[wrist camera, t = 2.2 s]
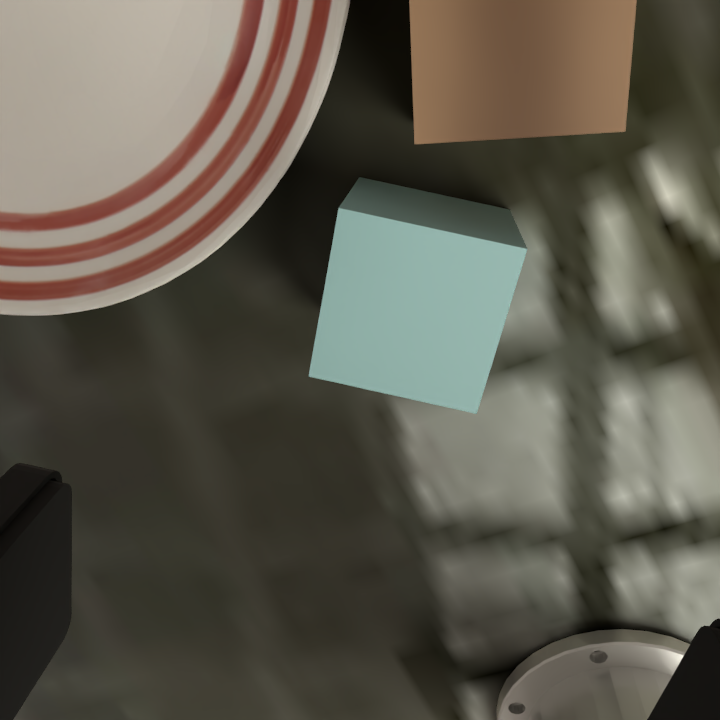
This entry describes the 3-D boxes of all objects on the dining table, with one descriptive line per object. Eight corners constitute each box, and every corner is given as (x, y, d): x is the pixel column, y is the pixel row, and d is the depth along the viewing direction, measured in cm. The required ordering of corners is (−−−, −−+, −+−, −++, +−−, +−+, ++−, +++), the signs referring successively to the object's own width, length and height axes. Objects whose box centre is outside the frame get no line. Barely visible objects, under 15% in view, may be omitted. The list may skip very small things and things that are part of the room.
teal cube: (509, 209, 26) (527, 249, 21) (469, 346, 29) (476, 413, 23) (359, 176, 26) (338, 207, 21) (333, 316, 29) (308, 376, 23)
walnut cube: (596, -78, 22) (647, -122, 17) (584, 115, 25) (625, 131, 19) (413, -60, 23) (405, -96, 17) (419, 125, 25) (414, 144, 20)
